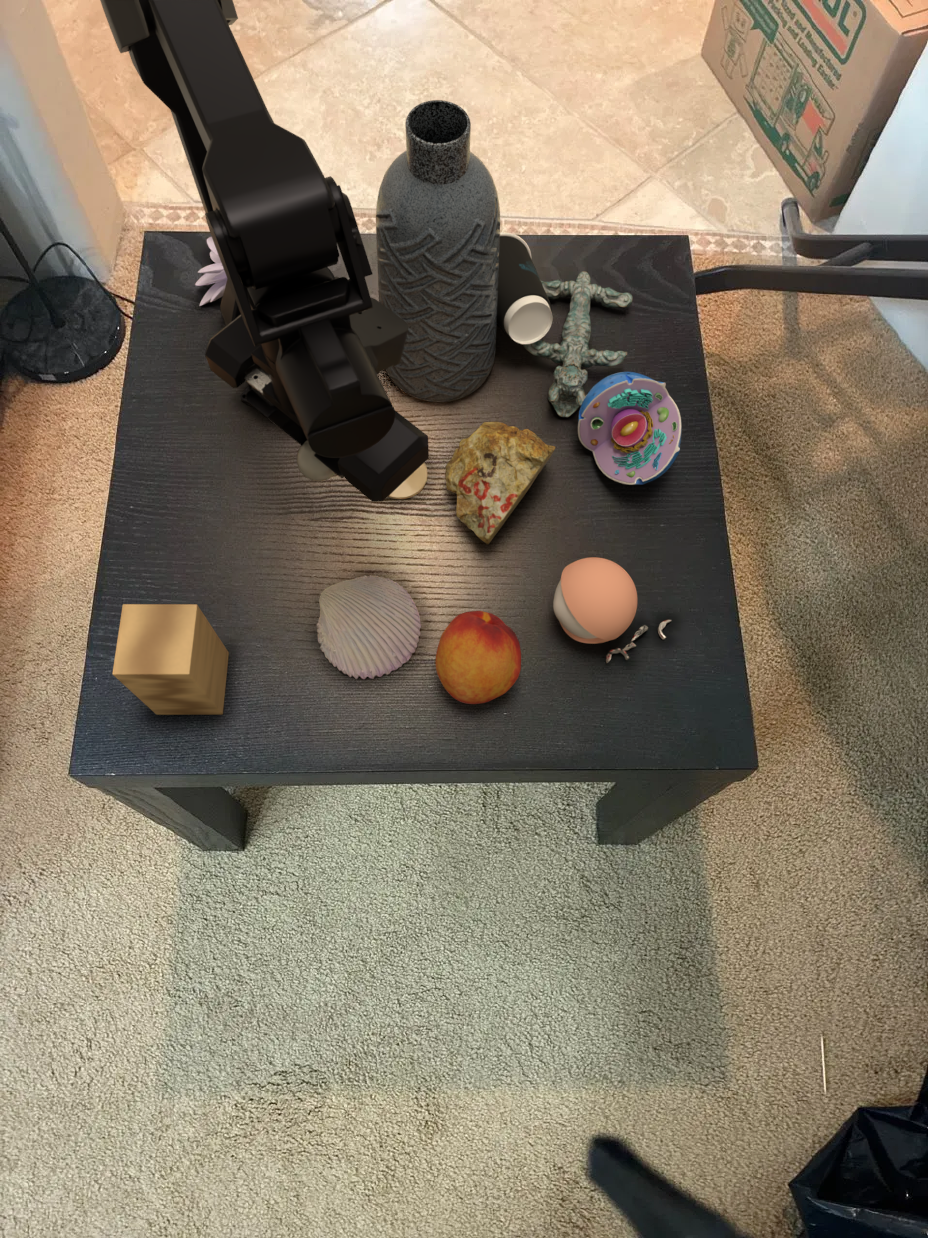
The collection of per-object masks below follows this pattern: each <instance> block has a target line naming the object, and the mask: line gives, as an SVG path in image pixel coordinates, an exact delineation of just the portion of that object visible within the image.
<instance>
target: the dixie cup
mask: <svg viewBox="0 0 928 1238" xmlns="http://www.w3.org/2000/svg"><path fill="white" fill-rule="evenodd" d="M541 281H542V280H541V278H540V276H539V274H538V271H537V269H536V267H535V264H534V262H533V258H532V252H531V249H530V247H529V245H528V243H527V242H526V241H525V240H524V239H523V238H522V237H520V236H519V235H518V234H515V233H513V232H512V233H511V232H504V231H503V232H502V231H500V245H499V272H498V299H497V325H498V326H499V328H500V329H501V330H502V332H503V333H504V334H505V336H507V337H508V338H509V339H511V340H513V341H514V342H515V343H517V344H520V345H523V344H530V343H534V342H536V341H538V340H542V338H544V337H545V336H546V335H547V333H548V332H549V331H550V329H551V327H552V324H553V319H554V316H553V307H552V304H551V302H550V298H548V297H547V294H546V292H545V290H544V287H543V285H542V283H541Z"/></svg>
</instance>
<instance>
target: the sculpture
mask: <svg viewBox="0 0 928 1238" xmlns="http://www.w3.org/2000/svg"><path fill="white" fill-rule="evenodd" d="M541 283H542V285H543V287H544V290H545V292H546V294H547V297H548V299H549V300H558V299H559V298H560V297H562V298H568V297H570V303H569V312H568V313H567V315H566V317H565V321H564V324H563V326H562V330H561V338H562V340H561V342H560V343H558V342H556V343H555V342H554V343H550V342H546V340H545V339H540V340H538V341H536V342H534V343H530V344H522V345H523V349H525V350H526V351H527V352H529V353H530V354H531V355H533V356H535V357H541V358H544V359H548V360H551V361H552V362H553V363H555V364H562V365H558V366H556V367H555V369H554V372H553V373H552V374H553V378H554V381H553V382H552V384H551V385H550V387H549V389H548V398H547V400H548V401H549V402H550V403H551V405H552V407H553V409H554V410H555V412H556V414H557V415H558V416H559V417H561V418H569V417H571V416H572V415H573V414H574V413H575V412H576V411H577V410H578V409H580V407H581V404H582V402H583V400H584V398H585V396H586V391H585V389H584V387H585V384H586V383H587V382H588V380H589V379H588V376H589V375H588V371H587V370H586V369H589V368H591V367H593V366H595V367H605V368H606V367H607V368H610V367H615V366H617V365H620V364H623V362H624V361H625V359H626V357H627V356H628V351H623V350H617V351H614V350H610V349H604V350H597V349H595V348H590V347H589V345H590V340H591V335H592V323H591V316H590V311H591V301H595V302H596V303H601V306H603V307H605V308H614V309H617V308H618V309H619V308H623V309H627V308H630V307H631V306H632V305H633V295H632V293H630V292H619V291H616V290H615V289H614V288H612V287H609V286H608V287H607V286H606V287H602V286H601V285H598V284H597V283H592V279H591V275H590V274H589V273H588V272H587V271H586V270H585V271H584V270H583V271H580V272H579V273H578V275H577V277H576V279H575V280H565V281H561V280H560V279H554V280H550V281H543V280H541ZM582 368H583V369H582ZM584 368H586V369H584Z"/></svg>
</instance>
